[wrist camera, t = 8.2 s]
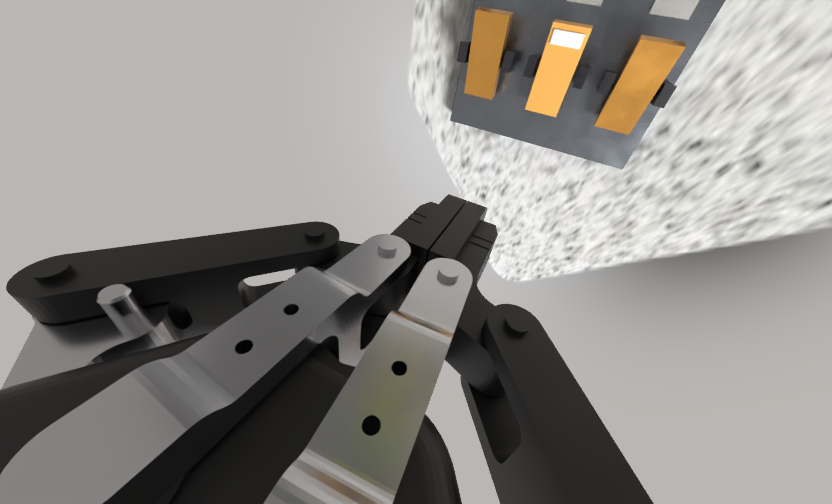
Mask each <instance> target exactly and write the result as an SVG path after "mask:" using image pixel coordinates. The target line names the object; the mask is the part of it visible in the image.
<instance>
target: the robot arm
mask: <svg viewBox="0 0 832 504" xmlns="http://www.w3.org/2000/svg"><path fill="white" fill-rule="evenodd" d="M486 212H487V208H486V207H483V206H481V205H478V204H475V203H472V202H469V201H468V202H467V201H466V200H463V199H461V198H458V197H455V196H452V195H447V196H446V197H445V198H444V199H443V200H442V202H441V203H440V204H436V203H433V202H429V203H426V204H423V205H421V206H419V207H418V208H417V209H416V210H415V211H414V213H412V214H411V215H410V216H409V217H408V219H406V220H405V221H404V222H403V223H402V224H401V225H400V226H399V227H398V228H397V229H396V230H394V231H393V232H392V233H391V234H390V235H389V234H381V235H376V236H373V237H371V238H369V239H368V240H366V241H365V242H364V243H362V244H355V243H349V242H344V241H339V232H338V230H337V229H336V228H335V227H334V226H332V225H330V224H328V223H324V222H307V223H299V224H292V225H284V226H277V227H270V228H262V229H254V230H246V231H239V232H231V233H223V234H216V235H208V236H201V237H194V238H186V239H178V240H171V241H163V242H155V243H148V244H140V245H133V246H125V247H117V248H110V249H102V250H94V251H88V252H79V253H72V254H64V255H59V256H54V257H50V258H47V259H44V260H41V261H38V262H36V263H33V264H31V265H29V266H27V267H25V268H24V269H22V270H21V271H19V272H17V273H16V274H15V275H14V276H13V277H12V278H11V279H10V280H9V281H8V283H7V286H6V289H7V291H8V293H9V294H10V295H11V296H12V297H13V298H14V299H15V300H16V301H17V302H19V303H20V304H21V305H22V306H23V307H24V308H25V309H26V310H27V311H28V312H29V313H30V314H31V315H32V318H33V320H34V321H35V325H34V327H33V329H32V331H31V333H30V335H29V337H28V339H27V341H26V343H25V345H24V347H23V349H22V350H21V353H20V354H19V356H18V358H17V360H16V362H15V364H14V366H13V368H12V369H11V372H10V373H9V375H8V377H7V379H6V381H5V383H4V385H3V387H2V389H1V390H0V504H462V503H461V498H460V493H459V489H458V484H457V480H456V475H455V471H454V467H453V463H452V461H451V458H450V455H449V452H448V449H447V447H446V445H445V443H444V441H443V439H442V437H441V435H440V434H439V432H438V430H437V429H436V427H435V426H434V424H433V423H432V422H431V420H430V419H429V418H428V417H427V416H426V415H425V412H426V409H427V406H428V404H429V401H430V398H431V396H432V393H433V390H434V387H435V384H436V382H437V379H438V376H439V373H440V371H441V368H442V365H443V362H444V360H446V361H447V362H448V363H449V364H450V365H451V366H452V367H453V368H454V369H455V370H456V371H457V372H458V373H459V374H460V375H461V384H462V388H463V391H464V394H465V397H466V400H467V403H468V407H469V410H470V413H471V416H472V419H473V421H474V425H475V427H476V431H477V434H478V437H479V440H480V443H481V446H482V449H483V452H484V455H485V458H486V461H487V464H488V467H489V470H490V473H491V476H492V480H493V483H494V485H495V489H496V492H497V495H498V498H499V501H500V504H653V502H652V500H651V499H650V497H649V496H648V494H647V492H646V491H645V490H644V488H643V486H642V485H641V483H640V481H639V480H638V478H637V477H636V475H635V474H634V472H633V470H632V469H631V467H630V465H629V464H628V462H627V461H626V459H625V457H624V456H623V454H622V453H621V451H620V449H619V448H618V446H617V445H616V443H615V442H614V440H613V438H612V437H611V435H610V434H609V432H608V430H607V429H606V427H605V426H604V424H603V423H602V421H601V419H600V418H599V416H598V414H597V413H596V411H595V410H594V408H593V407H592V405H591V403H590V402H589V400H588V399H587V397H586V395H585V394H584V392H583V391H582V389H581V387H580V386H579V384H578V383H577V381H576V379H575V378H574V376H573V375H572V373H571V372H570V370H569V368H568V367H567V365H566V363H565V362H564V360H563V359H562V357H561V356H560V354H559V353H558V351H557V349H556V348H555V346H554V344H553V343H552V341H551V340H550V338H549V337H548V335H547V333H546V332H545V330H544V328H543V327H542V325H541V324H540V322H539V321H538V320H537V319H536V317H534V316H533V315H532V314H531V313H530V312H528V311H527V310H525V309H523V308H521V307H519V306H516V305H512V304H501V305H497V306H494V305H493V304H492V303H490V302H489V301H488V300H487V299H485V298H484V296H483V295H482V294H481V293H480V291H479V290H478V287H477V283H478V281H479V279H480V277H481V274H482V272H483V270H484V268H485V266H486V263H487V261H488V258H489V256H490V253H491V251H492V248H493V245H494V243H495V240H496V238H497V235H498V234H497V229H496V225H493V224H490V223H488V222H485V221H484V218H485V215H486ZM293 268H295V275H293V276H292V277H291V278H289V279H288V280H286V281H281V282H276V283H271V284H266V285H261V286H249V285H247V284H246V283H245V282H244V281H243V279H245V278H248V277H251V276H257V275H262V274H267V273H272V272H278V271H283V270H288V269H293Z"/></svg>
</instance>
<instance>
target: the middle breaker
mask: <svg viewBox="0 0 832 504" xmlns="http://www.w3.org/2000/svg"><path fill="white" fill-rule="evenodd" d="M592 28H593V26H592V25H586V24H581V23H575V22H569V21H563V20H557V19H555V20H554V22H553V24H552V27H551V30H550V33H549V36H548V40H547V43H546V46H545V49H544V52H543V55H542V58H541V61H540V64H539V67H538V70H537V73H536V77H535V80H534V83H533V86H532V89H531V92H530V95H529V98H528V101H527V104H526V107H525V110H529V111H533V112H537V113H541V114H545V115H549V116H553V117H556V116H557V113H558V111H559V108H560V106H561V104H562V101H563V99H564V96H565V94H566V91H567V89H568V87H569V84H570V82H571V79H572V77H573V74H574V72H575V70H576V67H577V65H578V62H579V60H580V57H581V55H582V53H583V50H584V48H585V45H586V43H587V40H588V38H589V35H590V33H591V31H592Z"/></svg>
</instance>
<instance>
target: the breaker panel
mask: <svg viewBox="0 0 832 504" xmlns="http://www.w3.org/2000/svg"><path fill="white" fill-rule="evenodd" d="M724 2H725V0H475V2H474V7H473V12H472V17H471V22H470V27H469V31H468V36H467V41H461V43H460V48H459V53H458V58H457V61H458V62H462V66H461V71H460V75H459V80H458V85H457V90H456V95H455V100H454V105H453V110H452V115H451V119H450V121H454V122H457V123H461V124H464V125H468V126H471V127H475V128H479V129H482V130H486V131H489V132H493V133H496V134H500V135H503V136H507V137H510V138H514V139H517V140H521V141H524V142H528V143H531V144H535V145H538V146H542V147H545V148H549V149H553V150H556V151H560V152H563V153H567V154H570V155H574V156H577V157H581V158H584V159H588V160H591V161H595V162H598V163H602V164H605V165H609V166H612V167H616V168H619V169H623V168H624V166H625V164H626V163H627V161H628V159H629V158H630V156H631V155H632V153H633V151H634V150H635V148H636V146H637V145H638V143H639V141H640V140H641V138H642V137H643V135H644V133H645V132H646V130H647V128H648V127H649V125H650V123H651V122H652V120H653V118H654V117H655V115H656V114H657V112H658V110H659V109H660V107H661V108H664V107H665V105H666V103H667V102H668V100H669V98H670V97H671V95H672V94H673V92H674V90H675V89H676V87H677V86H676V85H674V84H675V82H676V81H677V79H678V77H679V76H680V74H681V72H682V71H683V69H684V68H685V66H686V64H687V63H688V61H689V59H690V58H691V56H692V54H693V53H694V51H695V50H696V48H697V46H698V45H699V43H700V41H701V40H702V38H703V36H704V35H705V33H706V31H707V30H708V28H709V27H710V25H711V23H712V22H713V20H714V18H715V17H716V15H717V13H718V12H719V10H720V8H721V7H722V5H723V4H724ZM555 19H557V20H563V21H569V22H575V23H581V24H586V25H592V26H593V28H592V31H591V33H590V35H589V38H588V40H587V43H586V45H585V48H584V50H583V53H582V55H581V57H580V60H579V62H578V65H577V67H576V70H575V72H574V74H573V77H572V79H571V82H570V84H569V87H568V89H567V91H566V94H565V96H564V99H563V101H562V104H561V106H560V108H559V111H558V113H557V116H556V117H553V116H549V115H545V114H541V113H537V112H533V111H529V110H525V107H526V104H527V101H528V98H529V95H530V92H531V89H532V86H533V83H534V80H535V77H536V73H537V70H538V67H539V64H540V61H541V58H542V55H543V52H544V49H545V46H546V43H547V40H548V36H549V33H550V30H551V27H552V24H553V22H554V20H555Z"/></svg>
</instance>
